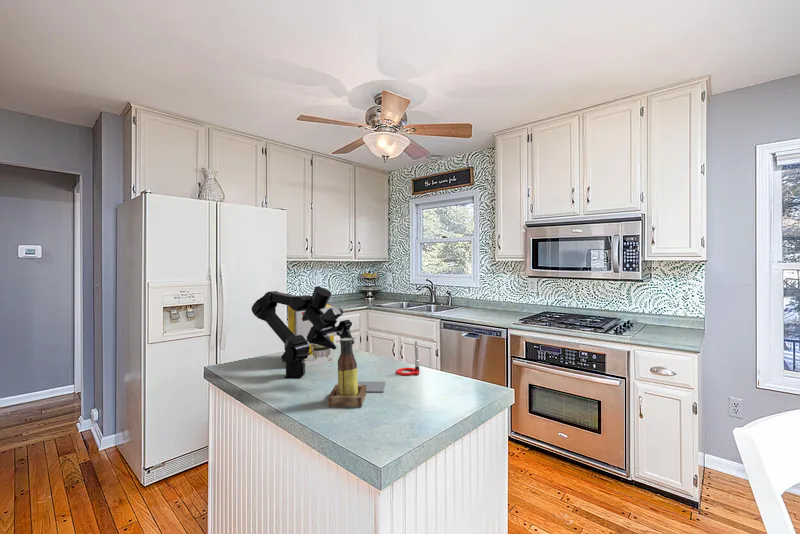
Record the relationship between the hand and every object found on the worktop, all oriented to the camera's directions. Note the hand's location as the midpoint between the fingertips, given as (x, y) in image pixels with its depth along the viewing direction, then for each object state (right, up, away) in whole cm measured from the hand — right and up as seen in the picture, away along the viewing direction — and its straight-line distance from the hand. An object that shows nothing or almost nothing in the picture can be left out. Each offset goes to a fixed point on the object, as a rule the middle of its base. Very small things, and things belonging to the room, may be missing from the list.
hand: (344, 345), depth 130 cm
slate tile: (+9, -15, +2) cm, 18 cm away
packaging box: (-21, -15, +37) cm, 45 cm away
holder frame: (+2, -15, -10) cm, 18 cm away
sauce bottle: (+2, -16, -10) cm, 19 cm away
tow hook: (+23, -15, +19) cm, 33 cm away
